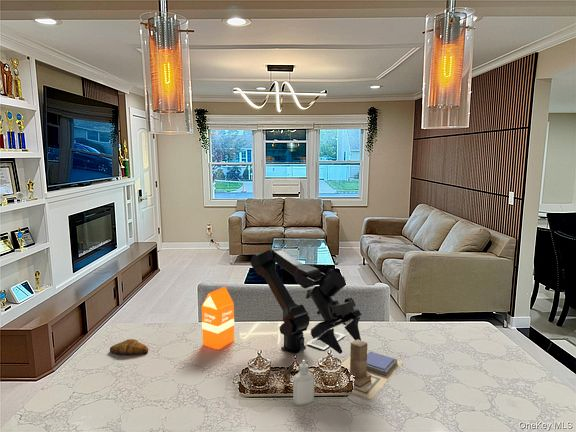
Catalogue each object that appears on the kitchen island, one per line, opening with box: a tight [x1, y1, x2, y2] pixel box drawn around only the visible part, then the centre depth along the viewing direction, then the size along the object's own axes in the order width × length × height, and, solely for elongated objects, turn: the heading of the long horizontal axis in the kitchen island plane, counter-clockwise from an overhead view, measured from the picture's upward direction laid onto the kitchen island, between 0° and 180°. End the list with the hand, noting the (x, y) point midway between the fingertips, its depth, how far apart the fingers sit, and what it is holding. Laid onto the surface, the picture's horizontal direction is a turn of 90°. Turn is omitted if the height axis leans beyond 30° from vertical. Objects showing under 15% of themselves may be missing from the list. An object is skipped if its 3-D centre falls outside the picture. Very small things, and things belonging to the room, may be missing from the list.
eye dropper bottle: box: [292, 359, 315, 406], centre depth 109 cm, size 4×6×12 cm
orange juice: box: [201, 286, 235, 350], centre depth 144 cm, size 8×9×20 cm
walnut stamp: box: [349, 339, 371, 388], centre depth 119 cm, size 6×6×12 cm
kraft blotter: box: [341, 350, 404, 400], centre depth 126 cm, size 16×26×1 cm, turn 145°
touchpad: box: [305, 331, 346, 351], centre depth 147 cm, size 8×15×2 cm, turn 142°
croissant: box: [109, 338, 149, 356], centre depth 138 cm, size 14×7×5 cm, turn 86°
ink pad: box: [367, 350, 398, 376], centre depth 129 cm, size 10×10×2 cm
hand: (351, 348), depth 121 cm, fingers open, 9 cm apart
